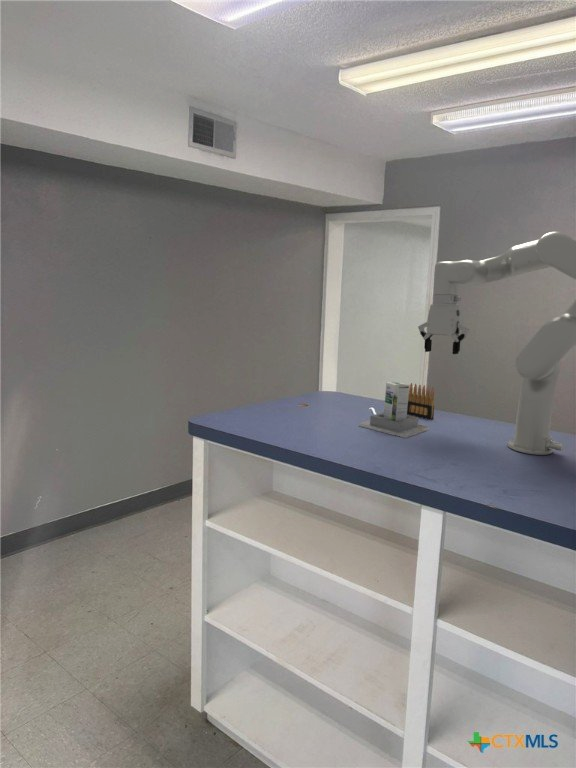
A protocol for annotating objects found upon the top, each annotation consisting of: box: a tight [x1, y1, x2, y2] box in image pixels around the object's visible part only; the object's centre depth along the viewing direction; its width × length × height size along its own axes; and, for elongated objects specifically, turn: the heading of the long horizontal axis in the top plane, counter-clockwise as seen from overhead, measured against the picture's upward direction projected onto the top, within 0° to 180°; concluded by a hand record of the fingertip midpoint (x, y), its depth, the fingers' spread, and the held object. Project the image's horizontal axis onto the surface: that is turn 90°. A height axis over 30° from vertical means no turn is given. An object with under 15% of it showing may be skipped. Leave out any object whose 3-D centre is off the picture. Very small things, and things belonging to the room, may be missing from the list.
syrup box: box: [383, 380, 410, 421], centre depth 178 cm, size 6×6×14 cm
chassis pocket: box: [358, 411, 430, 439], centre depth 179 cm, size 18×15×4 cm
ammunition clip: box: [407, 382, 435, 420], centre depth 196 cm, size 11×2×12 cm, turn 46°
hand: (441, 352), depth 176 cm, fingers open, 9 cm apart
